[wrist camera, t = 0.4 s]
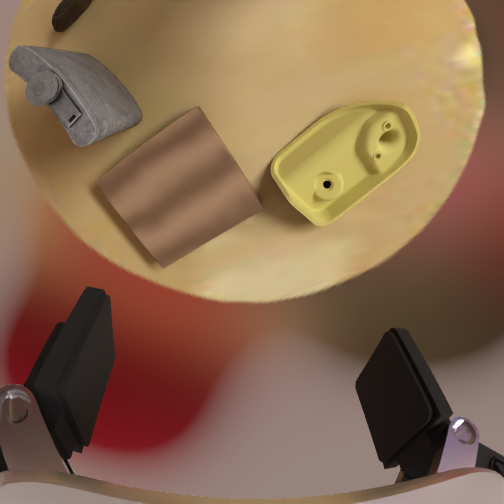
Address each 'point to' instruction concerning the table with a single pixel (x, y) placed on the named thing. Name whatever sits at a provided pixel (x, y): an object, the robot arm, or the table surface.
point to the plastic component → (345, 157)
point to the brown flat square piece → (180, 189)
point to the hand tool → (68, 13)
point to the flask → (76, 92)
